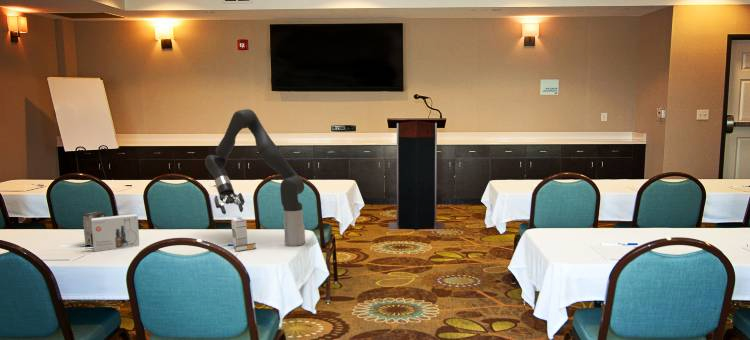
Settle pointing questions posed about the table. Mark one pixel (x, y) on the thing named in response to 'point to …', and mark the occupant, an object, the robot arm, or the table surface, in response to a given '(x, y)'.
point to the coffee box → (90, 225)
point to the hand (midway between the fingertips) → (233, 212)
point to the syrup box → (239, 231)
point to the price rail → (245, 247)
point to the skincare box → (115, 232)
